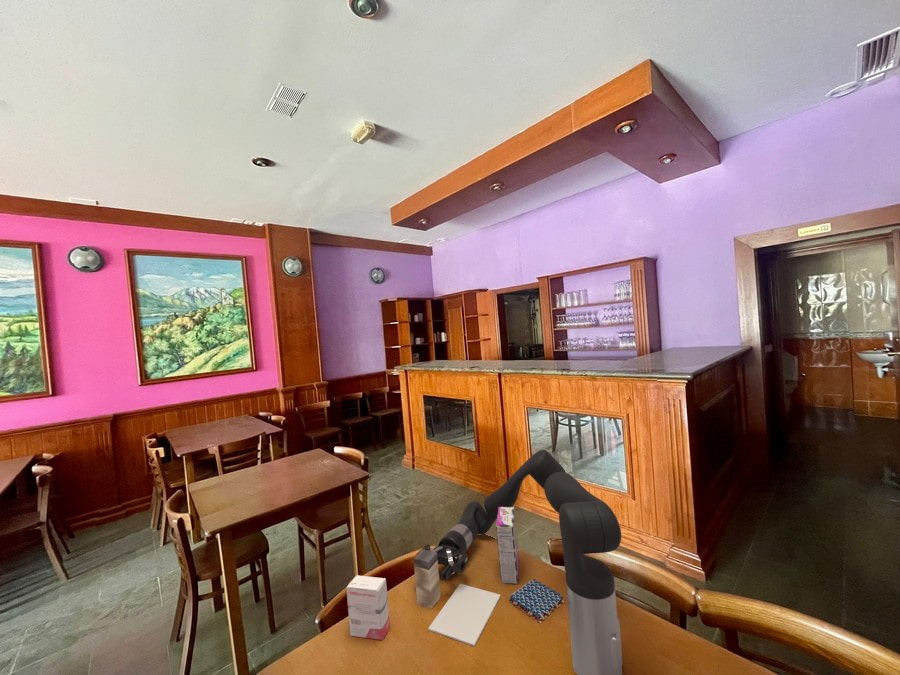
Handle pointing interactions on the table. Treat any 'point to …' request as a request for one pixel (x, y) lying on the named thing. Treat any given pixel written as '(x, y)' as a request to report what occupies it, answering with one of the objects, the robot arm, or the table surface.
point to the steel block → (427, 578)
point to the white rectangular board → (465, 614)
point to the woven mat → (536, 600)
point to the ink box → (368, 607)
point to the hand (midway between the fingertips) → (428, 573)
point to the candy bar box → (507, 545)
